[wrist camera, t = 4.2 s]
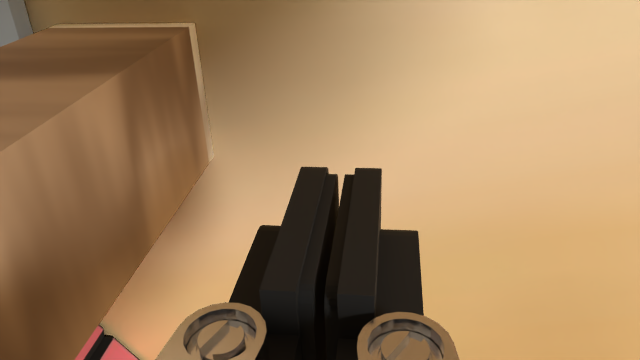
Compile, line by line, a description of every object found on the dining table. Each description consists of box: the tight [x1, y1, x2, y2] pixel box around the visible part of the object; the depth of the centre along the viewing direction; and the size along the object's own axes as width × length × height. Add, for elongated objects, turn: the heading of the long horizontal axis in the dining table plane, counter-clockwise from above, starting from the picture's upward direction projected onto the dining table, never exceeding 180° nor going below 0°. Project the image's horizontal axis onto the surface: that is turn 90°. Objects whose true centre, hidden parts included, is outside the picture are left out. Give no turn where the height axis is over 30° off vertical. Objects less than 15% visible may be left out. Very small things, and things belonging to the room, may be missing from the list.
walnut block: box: [0, 23, 214, 360], centre depth 14 cm, size 5×5×12 cm
